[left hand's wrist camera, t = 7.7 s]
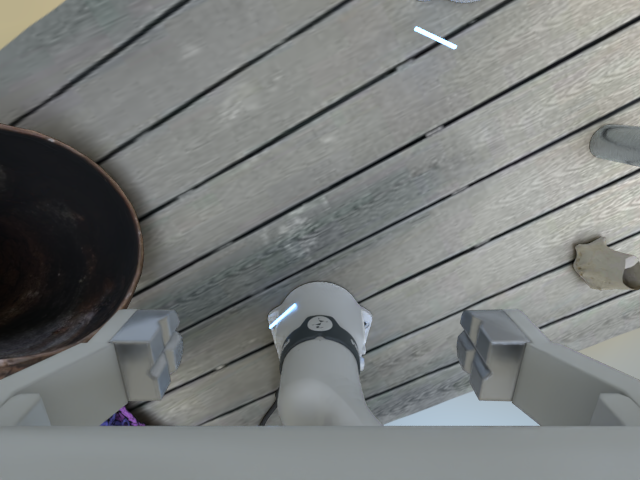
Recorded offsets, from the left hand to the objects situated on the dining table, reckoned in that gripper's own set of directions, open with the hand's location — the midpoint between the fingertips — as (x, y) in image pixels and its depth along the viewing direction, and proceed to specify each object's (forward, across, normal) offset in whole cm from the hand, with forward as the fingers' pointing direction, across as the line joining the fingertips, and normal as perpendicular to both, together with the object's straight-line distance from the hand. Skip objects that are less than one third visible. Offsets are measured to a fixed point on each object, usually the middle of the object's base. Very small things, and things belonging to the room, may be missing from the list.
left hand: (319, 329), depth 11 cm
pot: (+48, -44, -14) cm, 67 cm away
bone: (+48, +46, -20) cm, 69 cm away
